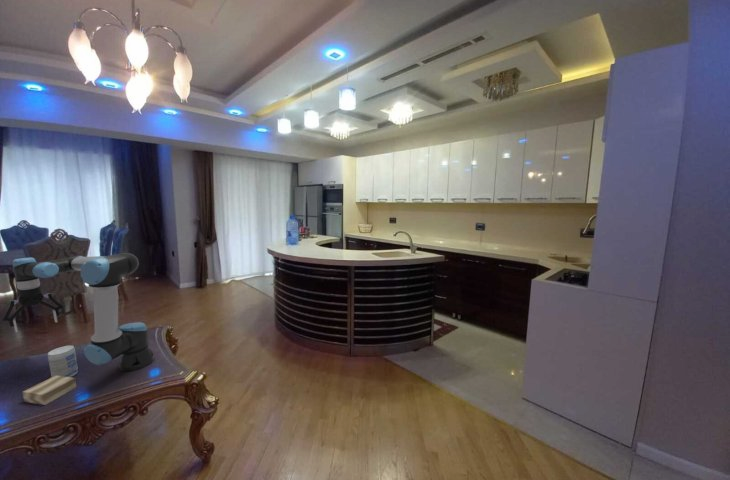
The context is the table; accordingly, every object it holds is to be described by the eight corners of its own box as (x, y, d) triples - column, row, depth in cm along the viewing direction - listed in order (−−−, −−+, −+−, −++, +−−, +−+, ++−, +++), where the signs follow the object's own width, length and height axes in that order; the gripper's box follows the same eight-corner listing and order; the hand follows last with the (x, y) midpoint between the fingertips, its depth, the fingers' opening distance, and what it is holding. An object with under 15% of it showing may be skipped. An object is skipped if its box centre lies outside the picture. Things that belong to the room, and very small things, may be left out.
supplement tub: (75, 377, 143) (70, 351, 141) (48, 384, 138) (43, 357, 136) (81, 368, 151) (76, 343, 149) (56, 374, 146) (51, 348, 144)
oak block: (76, 387, 136) (75, 377, 135) (45, 404, 124) (43, 394, 123) (57, 384, 138) (55, 375, 137) (24, 401, 126) (22, 391, 125)
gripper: (63, 280, 155) (69, 316, 158) (-12, 293, 135) (-3, 334, 138) (65, 282, 150) (72, 319, 153) (-12, 296, 130) (-2, 338, 133)
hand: (37, 326), depth 145 cm, fingers open, 13 cm apart
